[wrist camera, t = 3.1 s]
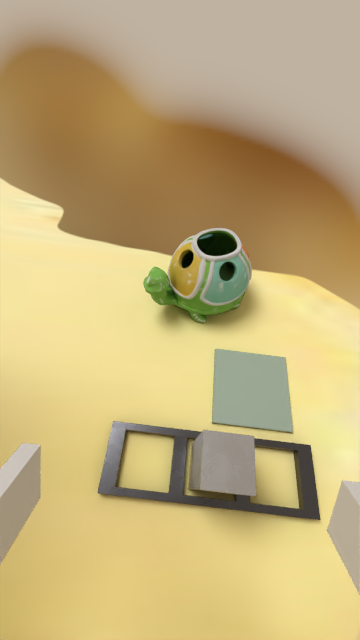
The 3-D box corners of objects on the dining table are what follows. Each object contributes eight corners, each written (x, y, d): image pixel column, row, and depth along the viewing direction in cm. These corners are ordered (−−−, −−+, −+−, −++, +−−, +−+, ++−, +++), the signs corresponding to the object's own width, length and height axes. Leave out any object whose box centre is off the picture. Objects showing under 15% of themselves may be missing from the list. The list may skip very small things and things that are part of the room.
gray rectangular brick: (228, 493, 34) (256, 496, 25) (188, 488, 34) (200, 489, 25) (228, 449, 37) (254, 436, 27) (191, 444, 37) (203, 429, 27)
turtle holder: (132, 285, 49) (126, 232, 39) (221, 258, 54) (236, 205, 44) (158, 343, 44) (159, 300, 34) (255, 308, 49) (281, 260, 39)
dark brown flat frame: (99, 492, 33) (97, 493, 32) (114, 422, 37) (113, 421, 36) (315, 518, 33) (320, 519, 32) (306, 446, 37) (310, 445, 36)
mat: (291, 432, 38) (293, 431, 38) (211, 422, 38) (212, 422, 38) (283, 358, 44) (285, 357, 43) (214, 350, 44) (215, 348, 43)
